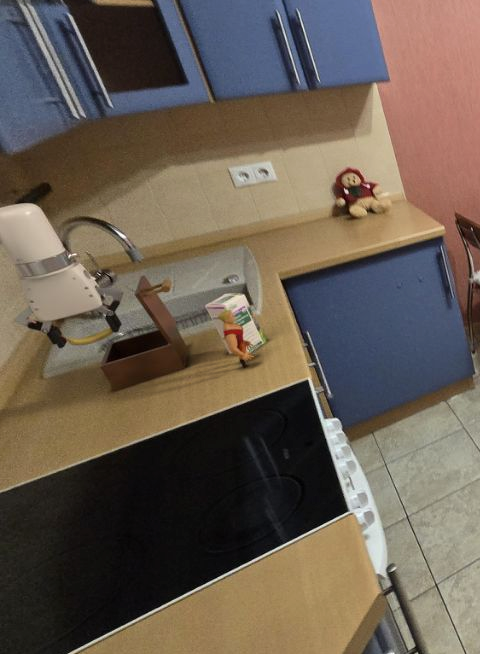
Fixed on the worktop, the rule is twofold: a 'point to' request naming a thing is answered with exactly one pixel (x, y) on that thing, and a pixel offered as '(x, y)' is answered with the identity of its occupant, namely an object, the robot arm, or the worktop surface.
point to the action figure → (235, 337)
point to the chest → (143, 358)
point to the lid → (156, 306)
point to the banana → (88, 338)
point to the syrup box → (237, 318)
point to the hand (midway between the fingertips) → (90, 337)
